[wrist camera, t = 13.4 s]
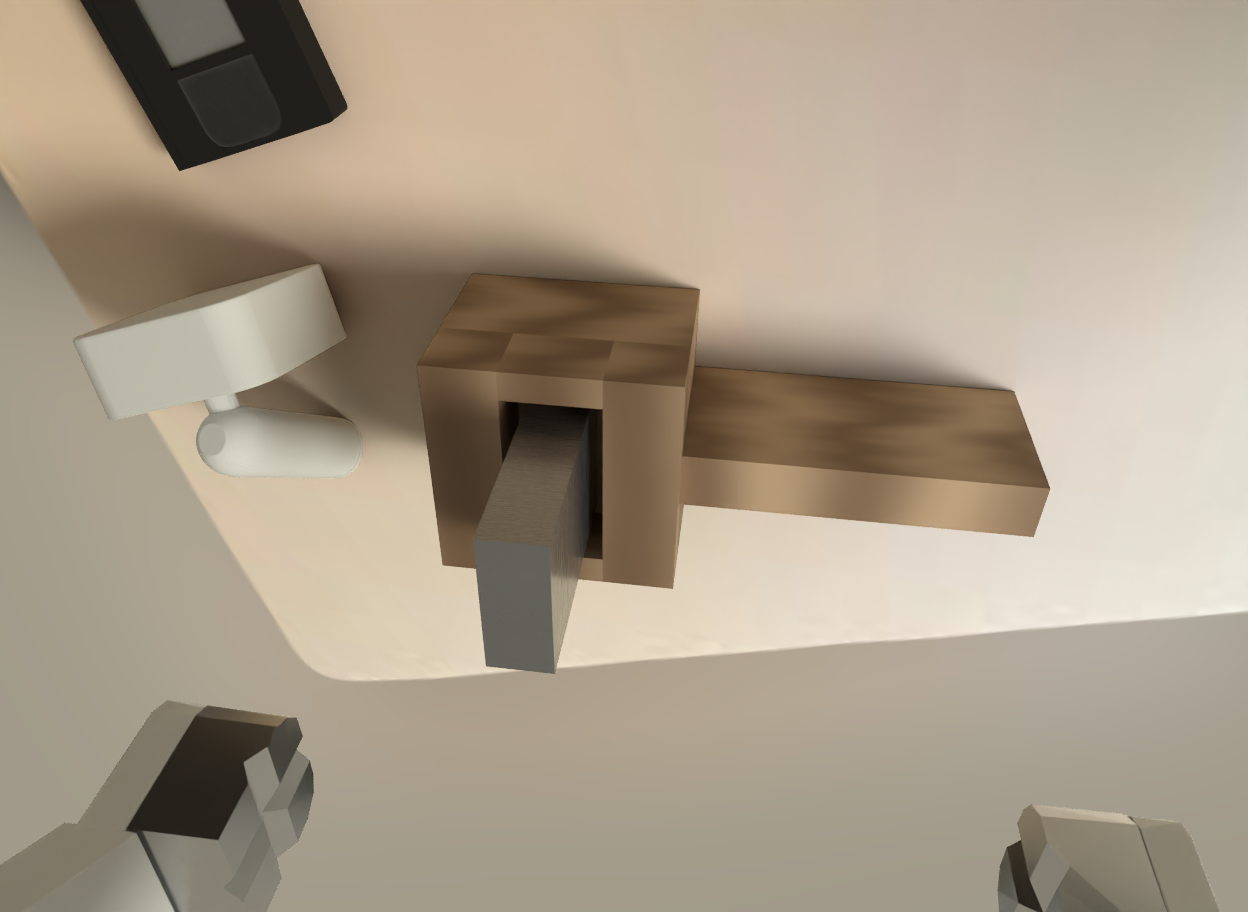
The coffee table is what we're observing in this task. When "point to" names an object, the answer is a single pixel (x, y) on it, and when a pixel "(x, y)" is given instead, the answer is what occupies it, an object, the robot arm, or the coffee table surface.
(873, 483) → the slotted wooden socket block
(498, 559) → the grey wood block
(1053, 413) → the coffee table surface
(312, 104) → the vhs tape
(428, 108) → the coffee table surface
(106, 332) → the wall hook
